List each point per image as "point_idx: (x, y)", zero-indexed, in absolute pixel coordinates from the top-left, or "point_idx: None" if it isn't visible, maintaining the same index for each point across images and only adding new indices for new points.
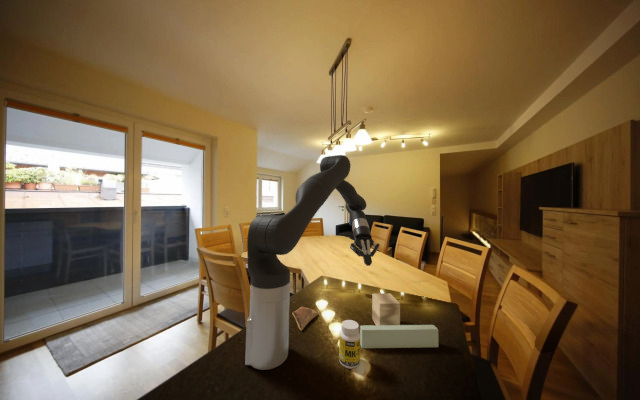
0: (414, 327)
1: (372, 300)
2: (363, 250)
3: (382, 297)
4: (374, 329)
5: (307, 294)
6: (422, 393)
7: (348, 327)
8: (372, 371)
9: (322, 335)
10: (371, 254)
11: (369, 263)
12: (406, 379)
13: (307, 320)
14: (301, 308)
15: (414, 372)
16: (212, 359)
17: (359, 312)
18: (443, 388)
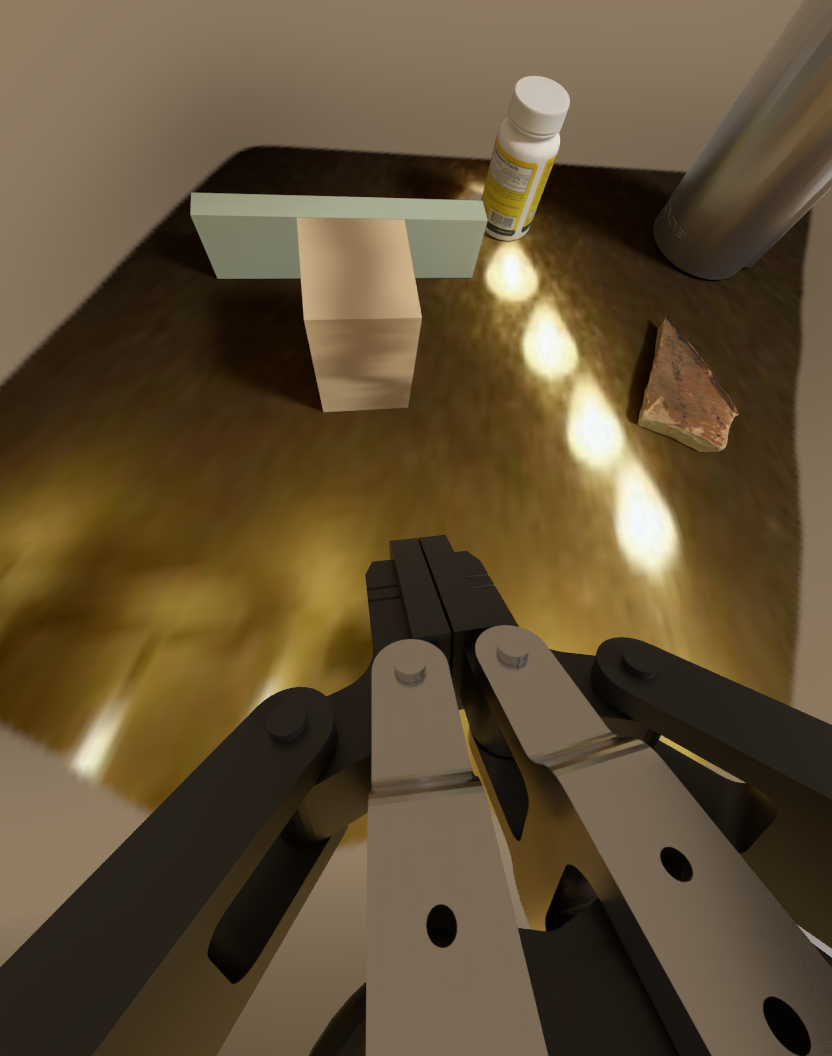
0: (284, 204)
1: (416, 346)
2: (587, 724)
3: (372, 274)
4: (439, 200)
5: (752, 629)
6: (353, 151)
7: (547, 82)
8: (449, 197)
9: (588, 309)
10: (349, 692)
11: (411, 540)
12: (374, 177)
13: (662, 354)
14: (718, 430)
15: (346, 190)
16: (802, 238)
17: (459, 452)
18: (299, 156)
